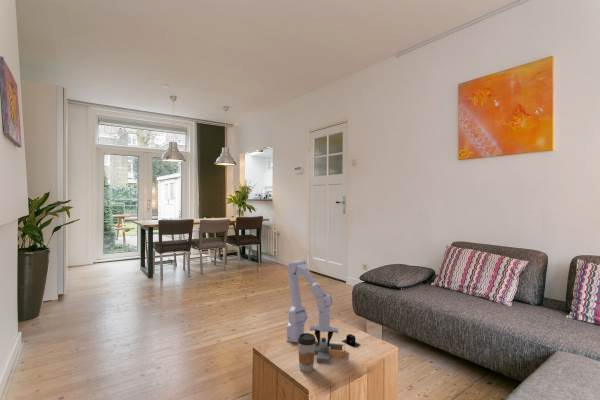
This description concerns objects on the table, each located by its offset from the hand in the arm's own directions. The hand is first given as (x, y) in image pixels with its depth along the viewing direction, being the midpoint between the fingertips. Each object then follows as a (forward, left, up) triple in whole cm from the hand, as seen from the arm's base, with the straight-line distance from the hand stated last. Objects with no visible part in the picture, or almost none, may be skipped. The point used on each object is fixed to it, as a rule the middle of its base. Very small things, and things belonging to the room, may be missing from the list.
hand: (323, 345), depth 163 cm
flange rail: (+2, 0, -3) cm, 4 cm away
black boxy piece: (+13, +14, -4) cm, 20 cm away
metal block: (0, 0, -1) cm, 1 cm away
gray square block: (+1, -8, -3) cm, 9 cm away
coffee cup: (-6, -18, -4) cm, 19 cm away
